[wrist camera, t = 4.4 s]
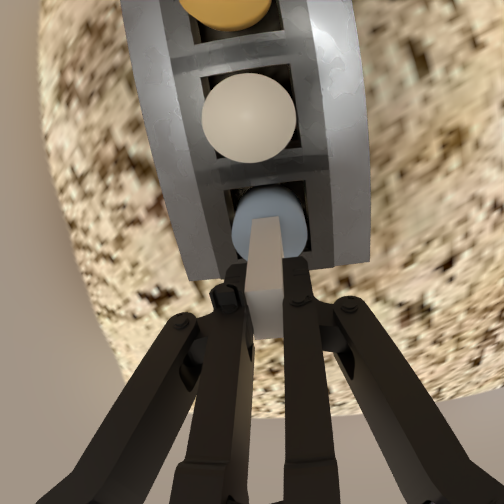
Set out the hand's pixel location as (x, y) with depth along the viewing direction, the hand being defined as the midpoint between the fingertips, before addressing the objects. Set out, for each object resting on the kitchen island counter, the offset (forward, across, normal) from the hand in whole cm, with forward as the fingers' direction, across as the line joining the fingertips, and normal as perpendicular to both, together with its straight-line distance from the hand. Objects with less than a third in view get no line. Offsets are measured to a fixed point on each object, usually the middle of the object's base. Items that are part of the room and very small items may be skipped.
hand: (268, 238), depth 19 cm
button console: (+8, 0, +7) cm, 10 cm away
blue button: (+7, 0, 0) cm, 7 cm away
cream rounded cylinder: (+6, 0, +7) cm, 9 cm away
